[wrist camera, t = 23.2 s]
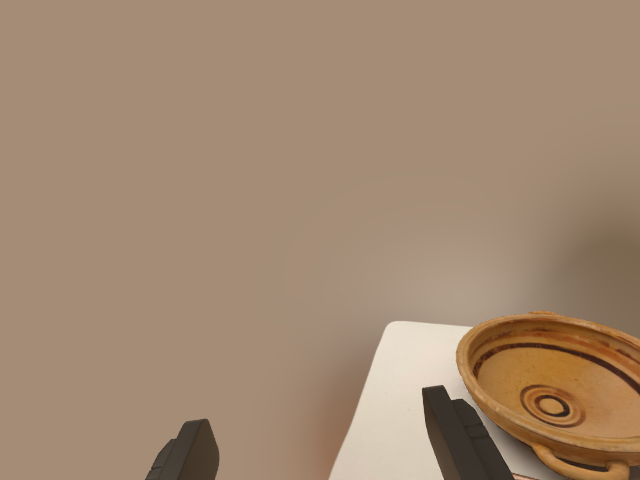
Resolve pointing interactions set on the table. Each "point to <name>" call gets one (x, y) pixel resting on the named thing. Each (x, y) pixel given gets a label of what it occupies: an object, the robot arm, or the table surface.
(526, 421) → the ceramic bowl
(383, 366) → the table surface
